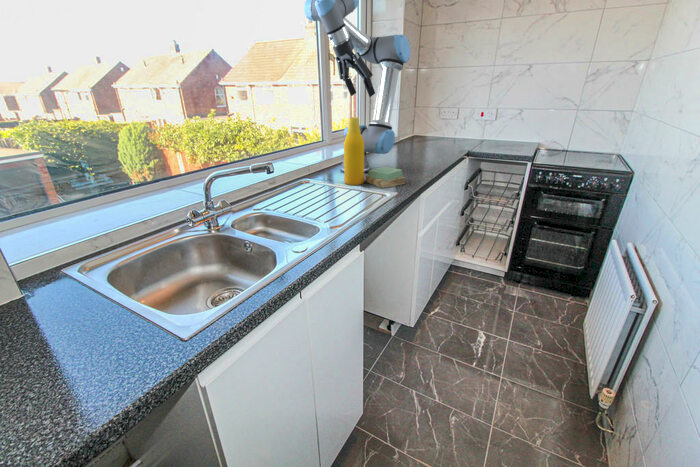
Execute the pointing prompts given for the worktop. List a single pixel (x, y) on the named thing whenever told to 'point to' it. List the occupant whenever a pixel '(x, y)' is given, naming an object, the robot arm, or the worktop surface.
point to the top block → (385, 173)
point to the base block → (385, 183)
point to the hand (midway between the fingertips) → (362, 94)
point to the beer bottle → (354, 154)
